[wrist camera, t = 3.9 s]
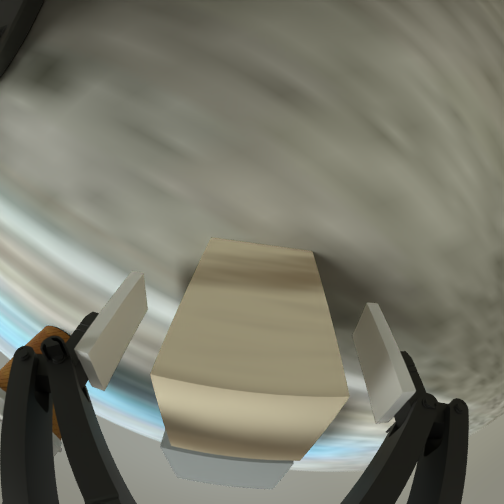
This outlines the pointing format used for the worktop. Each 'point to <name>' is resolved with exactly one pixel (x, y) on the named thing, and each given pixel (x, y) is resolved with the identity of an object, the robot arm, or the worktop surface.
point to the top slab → (224, 468)
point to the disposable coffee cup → (2, 375)
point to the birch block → (250, 356)
